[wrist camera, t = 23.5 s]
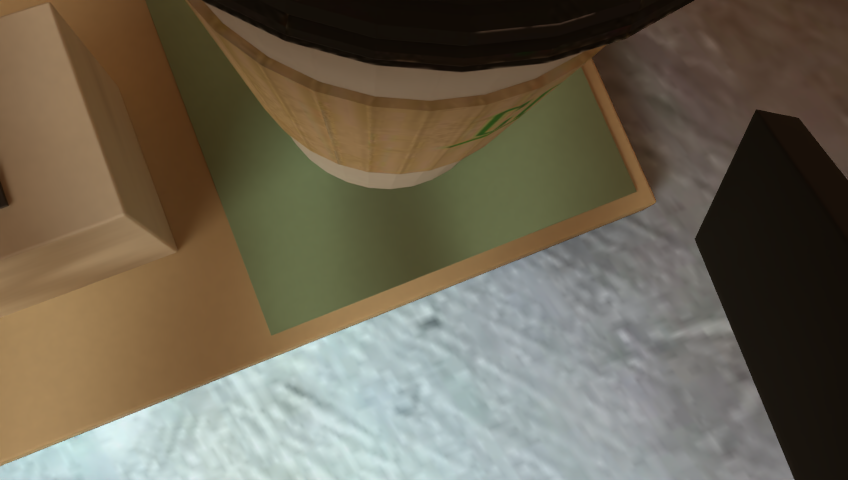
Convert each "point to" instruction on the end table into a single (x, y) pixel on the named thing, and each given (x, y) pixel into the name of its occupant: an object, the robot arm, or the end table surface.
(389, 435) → the end table surface
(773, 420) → the robot arm
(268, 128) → the word board
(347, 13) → the coffee cup
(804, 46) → the end table surface
